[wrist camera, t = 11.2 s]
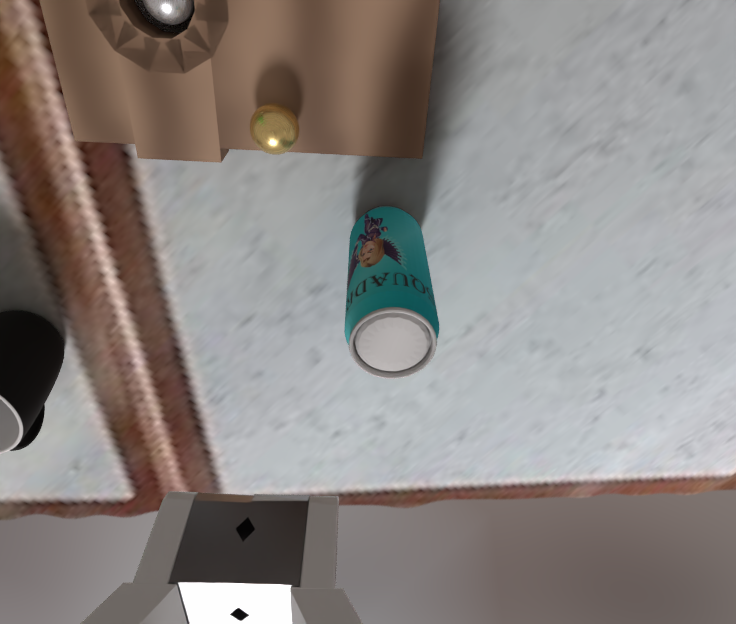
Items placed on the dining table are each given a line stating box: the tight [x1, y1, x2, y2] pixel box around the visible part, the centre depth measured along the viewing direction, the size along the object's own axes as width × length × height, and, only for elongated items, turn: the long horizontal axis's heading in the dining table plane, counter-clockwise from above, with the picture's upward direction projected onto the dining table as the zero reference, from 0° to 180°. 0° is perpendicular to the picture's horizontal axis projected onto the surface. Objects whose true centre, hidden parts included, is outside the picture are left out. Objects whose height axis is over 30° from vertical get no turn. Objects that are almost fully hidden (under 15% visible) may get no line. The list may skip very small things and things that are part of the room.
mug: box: [0, 310, 64, 454], centre depth 47 cm, size 12×9×10 cm
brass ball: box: [250, 103, 299, 154], centre depth 36 cm, size 3×3×3 cm
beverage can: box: [345, 206, 439, 379], centre depth 38 cm, size 6×6×15 cm
